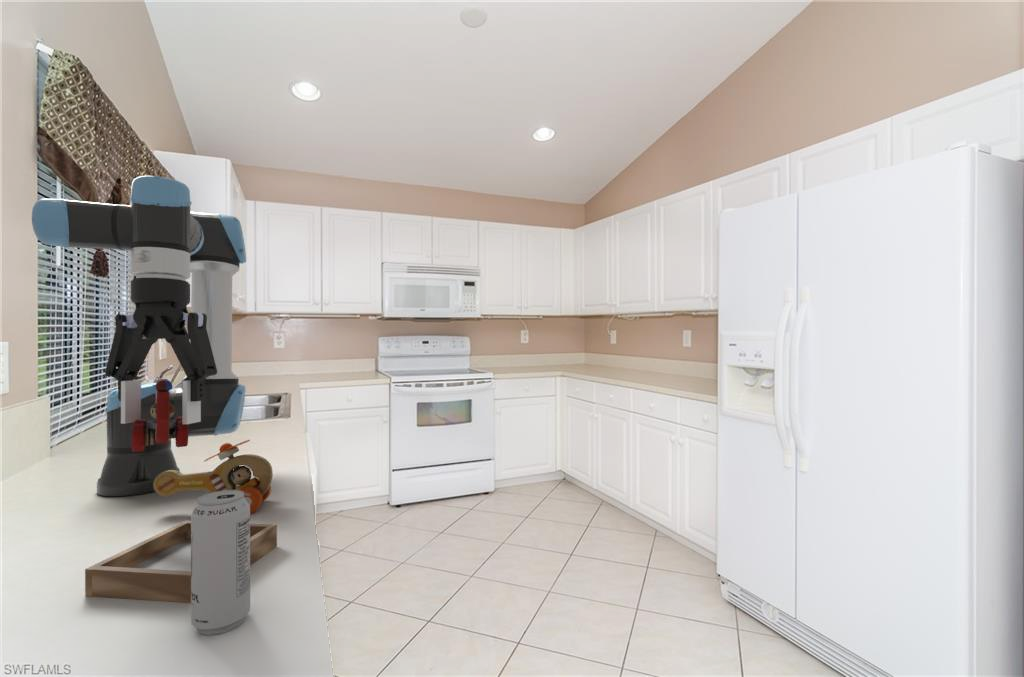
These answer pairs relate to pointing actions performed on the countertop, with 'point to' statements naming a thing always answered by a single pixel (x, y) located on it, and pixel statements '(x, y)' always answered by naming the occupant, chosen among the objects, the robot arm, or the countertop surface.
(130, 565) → the brown wooden tray
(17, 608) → the countertop surface
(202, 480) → the toy helicopter
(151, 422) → the toy fire truck
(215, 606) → the energy drink can
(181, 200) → the robot arm
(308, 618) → the countertop surface
